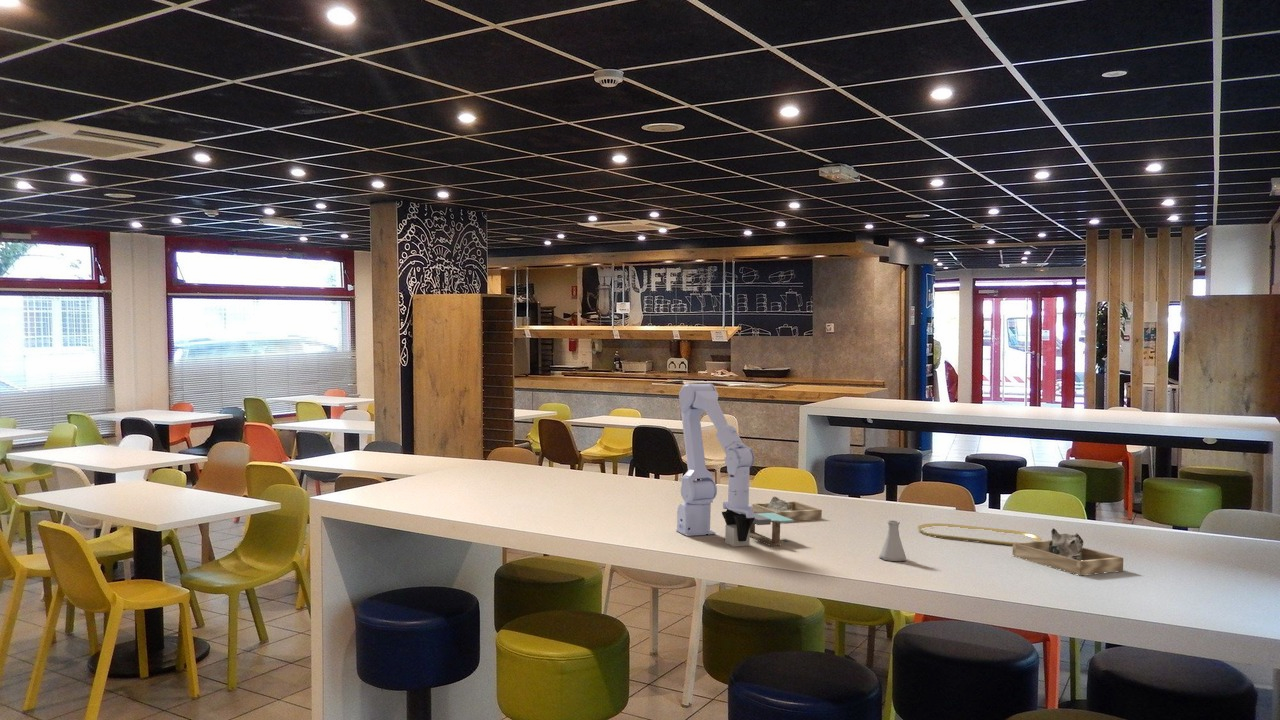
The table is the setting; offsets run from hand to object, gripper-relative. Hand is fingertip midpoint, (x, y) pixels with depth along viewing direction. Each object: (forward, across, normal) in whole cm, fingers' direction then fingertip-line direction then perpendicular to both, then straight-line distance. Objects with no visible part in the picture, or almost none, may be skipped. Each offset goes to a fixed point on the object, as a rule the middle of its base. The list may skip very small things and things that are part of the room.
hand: (737, 538), depth 249 cm
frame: (+2, +3, -10) cm, 11 cm away
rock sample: (+2, +33, -33) cm, 46 cm away
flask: (+2, -27, -32) cm, 42 cm away
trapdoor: (-4, +3, -11) cm, 12 cm away
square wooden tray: (+2, +33, -36) cm, 49 cm away
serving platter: (+2, -11, -76) cm, 77 cm away
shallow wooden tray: (+1, -45, -74) cm, 87 cm away
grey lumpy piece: (+1, -45, -74) cm, 87 cm away
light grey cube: (-1, 0, 0) cm, 1 cm away
